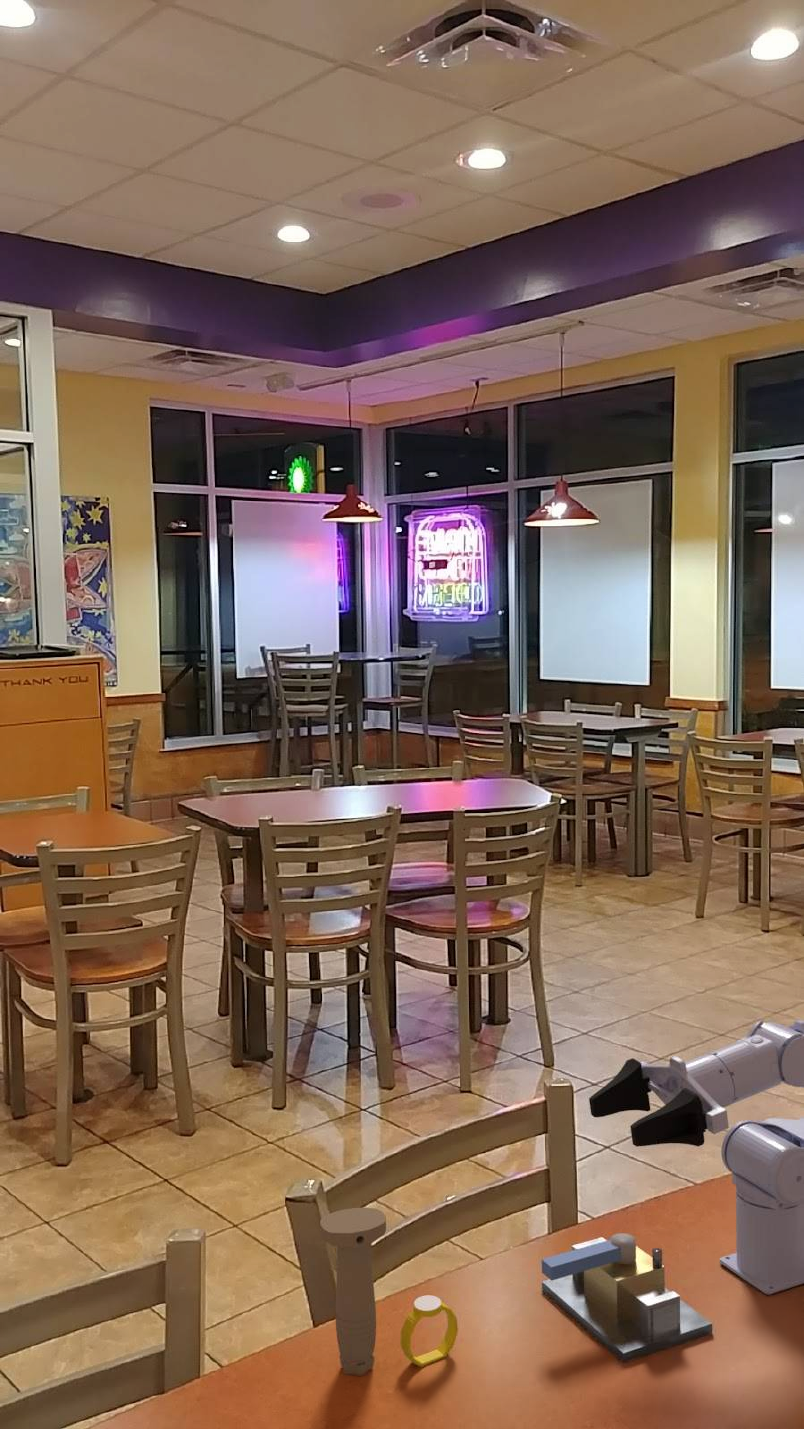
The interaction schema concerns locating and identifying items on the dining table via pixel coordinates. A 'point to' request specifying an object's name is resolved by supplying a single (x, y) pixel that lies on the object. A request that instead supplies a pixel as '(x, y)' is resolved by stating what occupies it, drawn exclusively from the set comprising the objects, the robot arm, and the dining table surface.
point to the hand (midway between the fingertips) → (611, 1121)
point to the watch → (428, 1308)
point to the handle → (354, 1283)
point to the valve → (628, 1305)
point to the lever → (591, 1257)
